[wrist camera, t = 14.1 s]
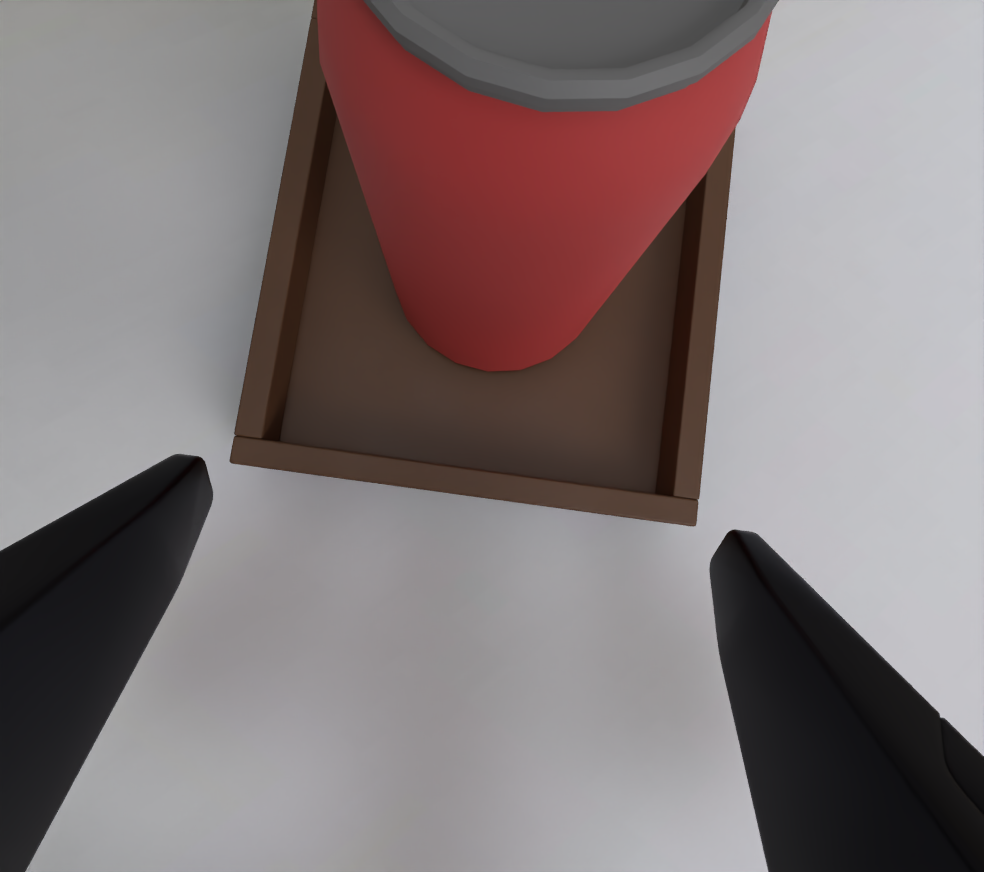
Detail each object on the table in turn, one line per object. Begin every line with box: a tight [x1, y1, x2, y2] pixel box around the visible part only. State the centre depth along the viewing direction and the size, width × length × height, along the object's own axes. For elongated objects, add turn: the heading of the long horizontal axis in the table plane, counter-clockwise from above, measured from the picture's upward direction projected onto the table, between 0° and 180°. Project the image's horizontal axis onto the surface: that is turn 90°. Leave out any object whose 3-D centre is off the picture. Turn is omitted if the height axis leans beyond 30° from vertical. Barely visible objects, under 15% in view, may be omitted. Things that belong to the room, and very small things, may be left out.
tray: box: [230, 0, 736, 526], centre depth 17 cm, size 15×14×2 cm
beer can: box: [317, 0, 779, 371], centre depth 12 cm, size 7×7×12 cm
